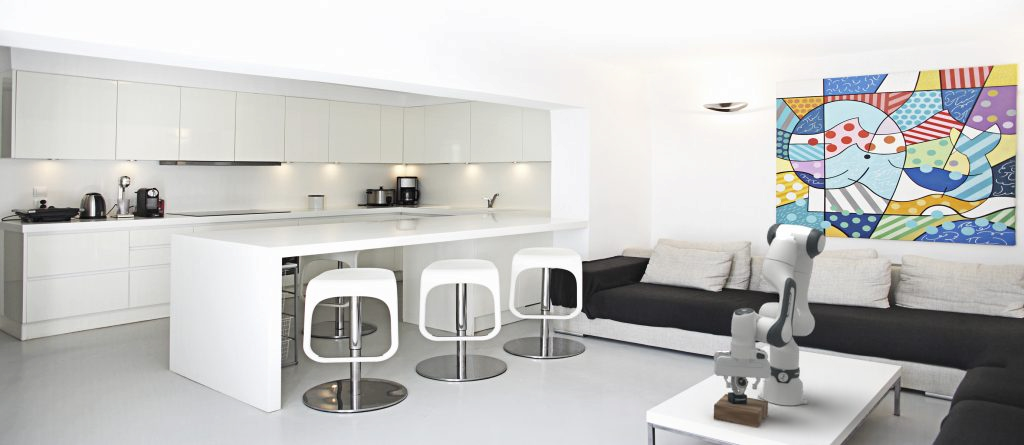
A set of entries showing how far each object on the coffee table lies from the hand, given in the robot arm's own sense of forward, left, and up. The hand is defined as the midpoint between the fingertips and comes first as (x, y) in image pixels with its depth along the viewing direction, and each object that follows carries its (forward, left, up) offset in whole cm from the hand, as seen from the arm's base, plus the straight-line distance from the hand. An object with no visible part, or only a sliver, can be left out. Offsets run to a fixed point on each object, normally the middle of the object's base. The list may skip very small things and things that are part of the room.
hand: (741, 388), depth 272 cm
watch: (0, -1, -6) cm, 6 cm away
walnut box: (0, 0, -12) cm, 12 cm away
